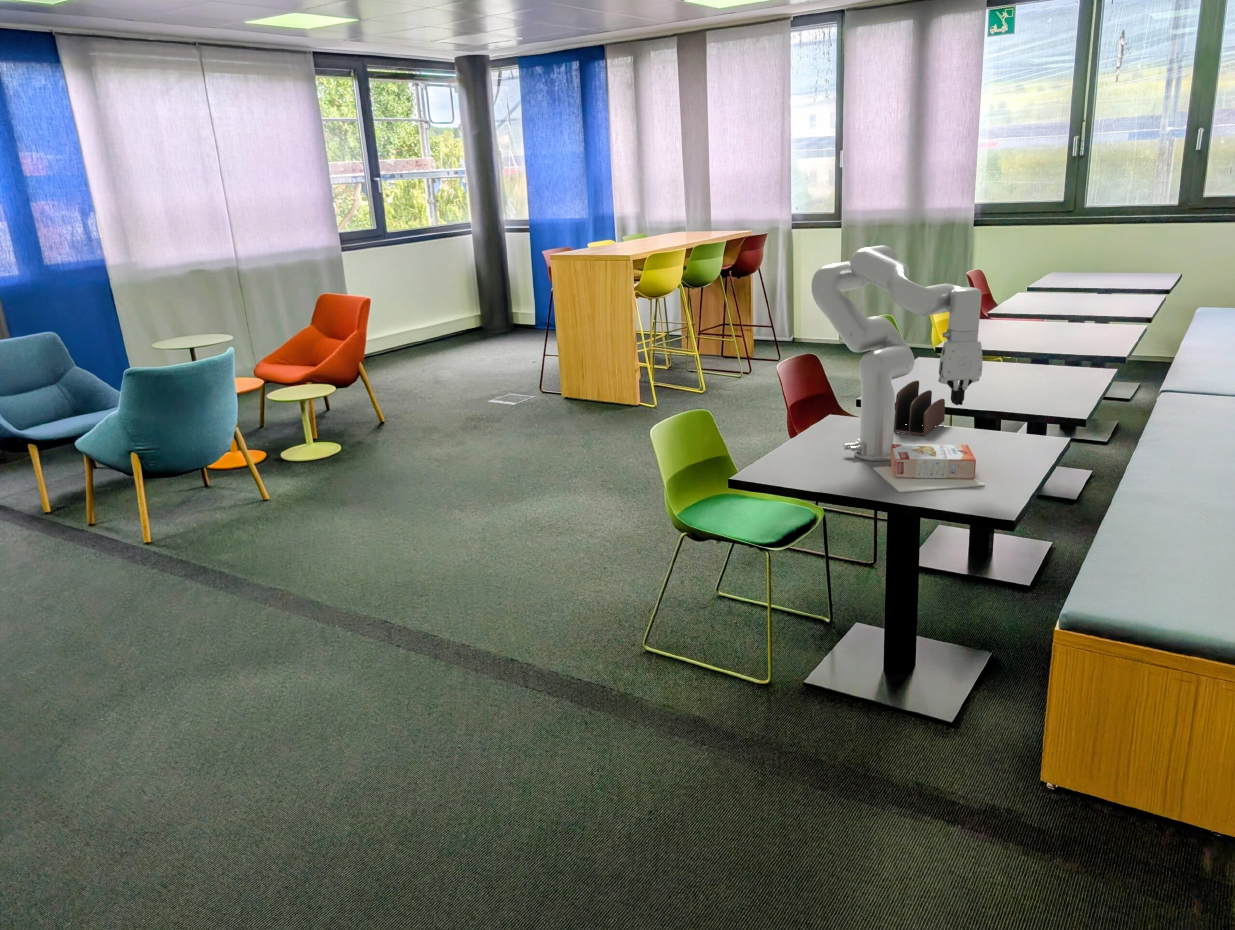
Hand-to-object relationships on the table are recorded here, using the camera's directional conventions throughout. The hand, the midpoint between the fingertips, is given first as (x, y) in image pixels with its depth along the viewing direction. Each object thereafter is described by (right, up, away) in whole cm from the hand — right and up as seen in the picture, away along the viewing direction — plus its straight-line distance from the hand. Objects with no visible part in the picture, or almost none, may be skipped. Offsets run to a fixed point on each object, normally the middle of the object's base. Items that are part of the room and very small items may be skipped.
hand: (956, 403), depth 243 cm
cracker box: (+6, -15, +6) cm, 18 cm away
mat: (-6, -20, +5) cm, 21 cm away
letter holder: (+7, -4, +51) cm, 52 cm away
